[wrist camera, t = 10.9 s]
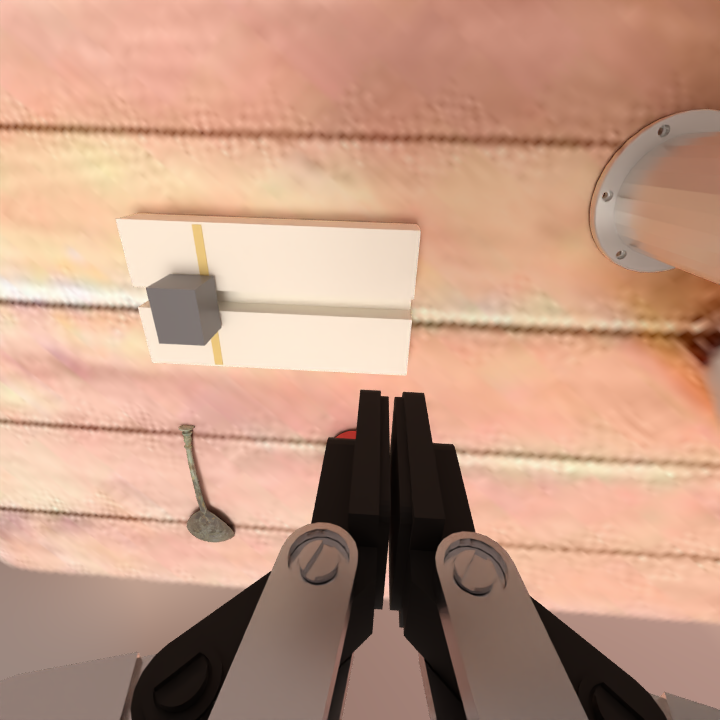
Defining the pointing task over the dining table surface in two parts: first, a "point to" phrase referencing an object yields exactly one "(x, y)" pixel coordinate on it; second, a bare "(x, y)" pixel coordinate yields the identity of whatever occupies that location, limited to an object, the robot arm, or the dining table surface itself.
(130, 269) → the slider console
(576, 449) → the dining table surface
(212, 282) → the fader knob
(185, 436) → the soupspoon
